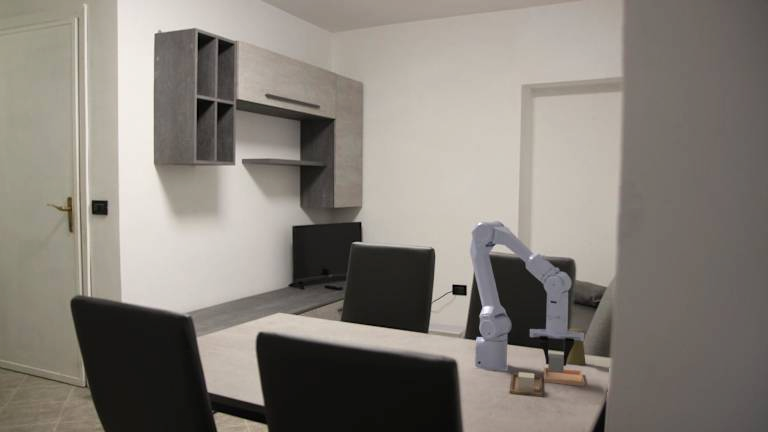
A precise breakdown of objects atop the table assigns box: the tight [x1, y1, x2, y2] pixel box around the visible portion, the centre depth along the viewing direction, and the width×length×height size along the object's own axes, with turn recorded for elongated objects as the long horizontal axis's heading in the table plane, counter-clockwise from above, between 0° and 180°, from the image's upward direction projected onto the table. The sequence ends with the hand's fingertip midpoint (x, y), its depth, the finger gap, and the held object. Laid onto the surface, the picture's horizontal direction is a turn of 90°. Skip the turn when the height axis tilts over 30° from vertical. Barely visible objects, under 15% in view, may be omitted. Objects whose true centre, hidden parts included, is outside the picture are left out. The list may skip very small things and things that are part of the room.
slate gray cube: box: [547, 352, 565, 373], centre depth 156 cm, size 4×4×4 cm
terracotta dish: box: [542, 366, 585, 387], centre depth 158 cm, size 11×11×2 cm
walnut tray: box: [509, 372, 543, 398], centre depth 151 cm, size 8×15×1 cm, turn 165°
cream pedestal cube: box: [518, 371, 535, 392], centre depth 147 cm, size 4×4×4 cm
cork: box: [566, 327, 587, 367], centre depth 173 cm, size 6×6×11 cm
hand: (555, 364), depth 156 cm, fingers closed on slate gray cube, 4 cm apart
